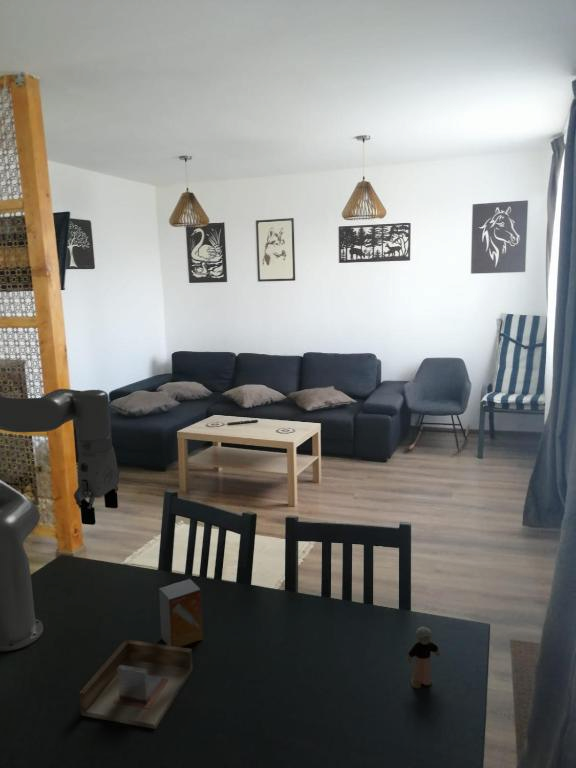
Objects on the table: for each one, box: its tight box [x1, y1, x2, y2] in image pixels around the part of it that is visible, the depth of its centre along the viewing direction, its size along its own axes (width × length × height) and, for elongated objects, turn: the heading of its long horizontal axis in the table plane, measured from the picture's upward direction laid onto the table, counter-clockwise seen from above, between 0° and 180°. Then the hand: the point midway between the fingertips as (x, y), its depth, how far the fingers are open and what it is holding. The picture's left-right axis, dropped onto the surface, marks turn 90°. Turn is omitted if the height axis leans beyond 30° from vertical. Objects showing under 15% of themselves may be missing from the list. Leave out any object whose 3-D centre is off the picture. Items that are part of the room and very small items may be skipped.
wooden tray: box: [78, 639, 194, 730], centre depth 126 cm, size 16×18×5 cm
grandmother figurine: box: [405, 626, 441, 689], centre depth 126 cm, size 8×4×13 cm, turn 118°
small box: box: [158, 578, 203, 648], centre depth 143 cm, size 8×6×13 cm
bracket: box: [117, 665, 163, 705], centre depth 124 cm, size 7×6×7 cm
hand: (100, 515), depth 141 cm, fingers open, 9 cm apart
